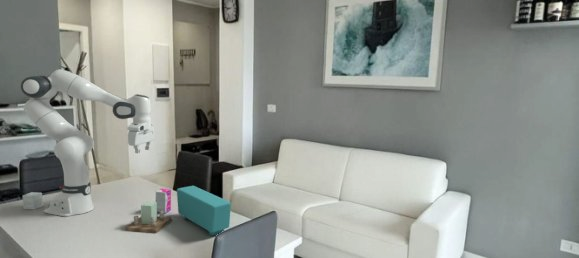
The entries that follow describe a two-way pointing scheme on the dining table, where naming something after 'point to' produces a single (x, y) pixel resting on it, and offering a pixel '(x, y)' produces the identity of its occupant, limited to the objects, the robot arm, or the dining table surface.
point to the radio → (204, 209)
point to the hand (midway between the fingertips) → (142, 151)
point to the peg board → (147, 227)
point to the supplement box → (163, 200)
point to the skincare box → (32, 200)
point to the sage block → (148, 212)
